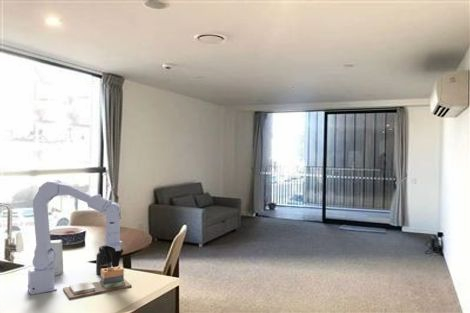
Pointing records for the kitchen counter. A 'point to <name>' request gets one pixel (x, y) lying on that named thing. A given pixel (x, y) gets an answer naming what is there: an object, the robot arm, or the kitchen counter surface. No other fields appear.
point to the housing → (112, 275)
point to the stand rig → (93, 288)
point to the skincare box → (58, 256)
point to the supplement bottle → (101, 261)
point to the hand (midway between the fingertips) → (112, 264)
